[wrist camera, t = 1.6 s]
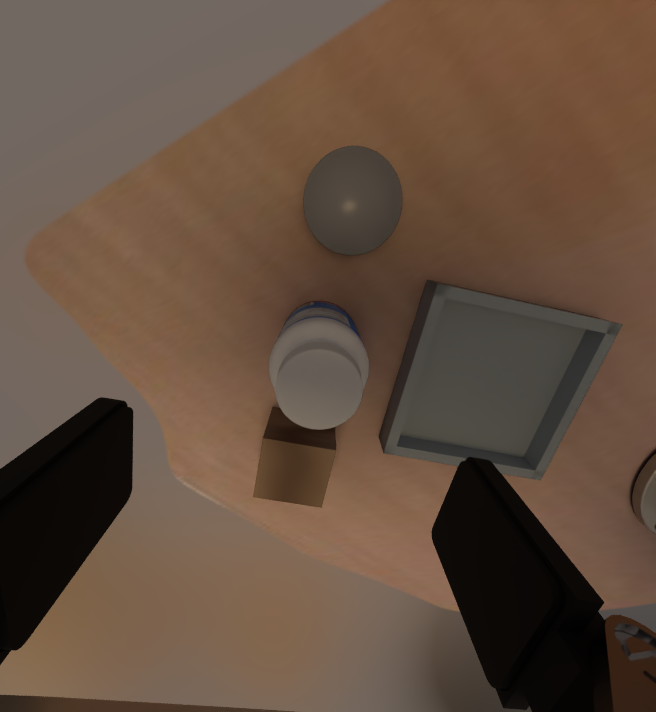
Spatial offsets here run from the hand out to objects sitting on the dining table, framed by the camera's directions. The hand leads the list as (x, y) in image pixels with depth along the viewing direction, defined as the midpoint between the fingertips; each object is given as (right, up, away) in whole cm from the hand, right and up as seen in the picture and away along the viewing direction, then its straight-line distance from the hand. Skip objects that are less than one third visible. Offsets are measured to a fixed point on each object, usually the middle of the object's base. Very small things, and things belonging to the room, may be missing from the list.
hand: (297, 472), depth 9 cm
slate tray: (+13, +1, +16) cm, 20 cm away
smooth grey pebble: (+2, +13, +12) cm, 17 cm away
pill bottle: (0, +5, +15) cm, 15 cm away
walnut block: (-2, -3, +17) cm, 18 cm away
